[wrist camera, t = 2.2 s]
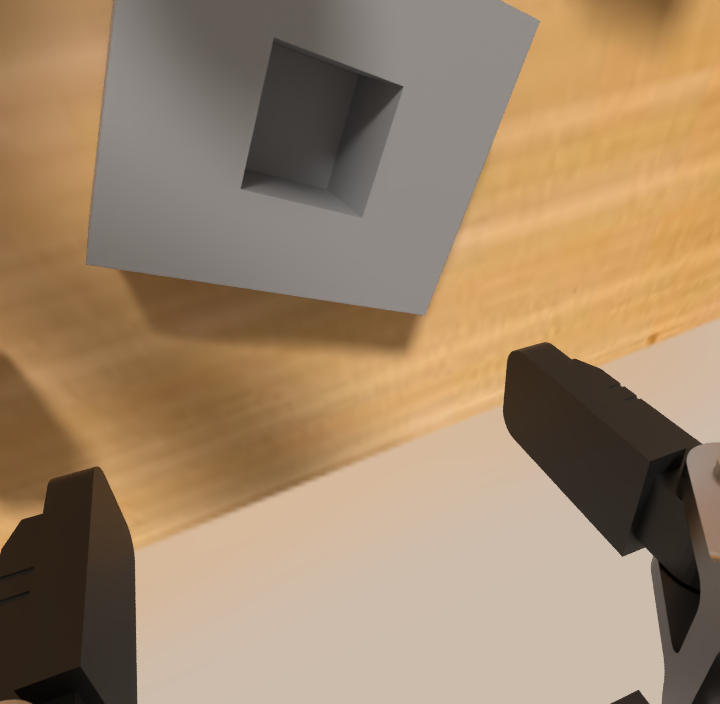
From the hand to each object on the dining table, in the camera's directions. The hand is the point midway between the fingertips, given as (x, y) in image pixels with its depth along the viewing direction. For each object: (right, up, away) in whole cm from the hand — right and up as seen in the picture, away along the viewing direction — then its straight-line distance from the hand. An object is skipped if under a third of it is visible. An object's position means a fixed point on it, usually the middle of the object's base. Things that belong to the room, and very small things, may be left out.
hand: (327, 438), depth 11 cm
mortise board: (-3, +13, +16) cm, 21 cm away
